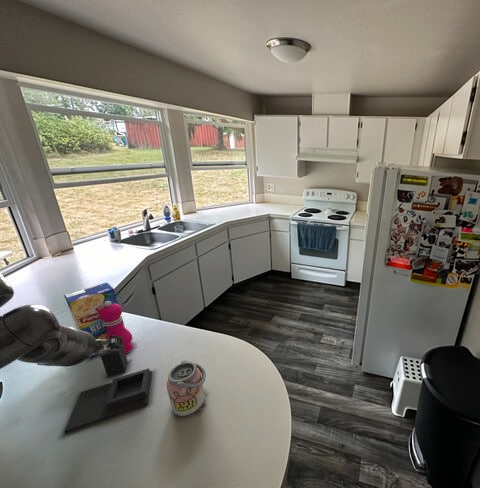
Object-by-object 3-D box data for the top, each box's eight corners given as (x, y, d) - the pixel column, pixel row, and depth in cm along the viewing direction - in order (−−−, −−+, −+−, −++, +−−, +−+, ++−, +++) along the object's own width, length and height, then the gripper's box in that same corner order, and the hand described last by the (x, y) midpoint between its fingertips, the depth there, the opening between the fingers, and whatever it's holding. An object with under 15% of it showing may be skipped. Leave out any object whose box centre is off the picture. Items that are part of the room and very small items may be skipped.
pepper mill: (140, 345, 90) (126, 297, 83) (119, 360, 83) (103, 309, 76) (124, 341, 91) (110, 293, 85) (103, 355, 85) (86, 305, 78)
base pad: (65, 433, 62) (60, 424, 60) (81, 394, 71) (78, 385, 70) (147, 404, 69) (145, 395, 68) (152, 372, 79) (150, 364, 78)
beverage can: (210, 385, 75) (205, 354, 71) (208, 411, 68) (203, 378, 64) (175, 395, 72) (167, 363, 68) (169, 423, 65) (161, 389, 61)
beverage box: (84, 350, 87) (63, 295, 79) (122, 333, 95) (107, 282, 88) (90, 359, 83) (69, 302, 76) (129, 340, 92) (113, 288, 84)
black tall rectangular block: (107, 377, 77) (99, 354, 74) (110, 366, 81) (103, 344, 78) (125, 372, 79) (118, 349, 76) (128, 362, 83) (121, 340, 80)
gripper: (106, 320, 58) (128, 330, 71) (18, 338, 51) (60, 346, 65) (107, 353, 55) (129, 358, 68) (14, 377, 49) (58, 377, 62)
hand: (95, 352), depth 67 cm, fingers open, 8 cm apart
